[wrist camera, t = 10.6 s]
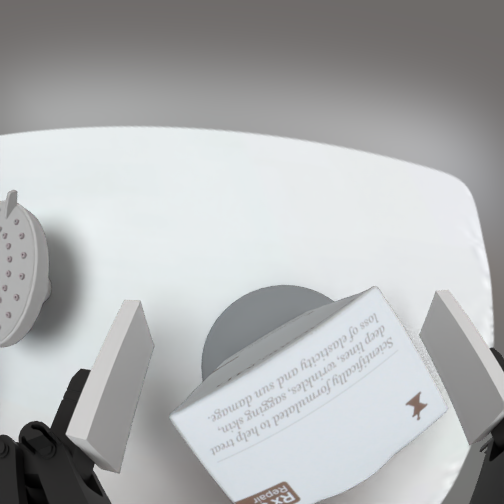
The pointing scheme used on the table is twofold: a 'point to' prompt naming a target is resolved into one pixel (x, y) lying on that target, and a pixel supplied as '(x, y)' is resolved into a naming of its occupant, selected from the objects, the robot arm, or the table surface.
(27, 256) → the showerhead
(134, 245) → the table surface
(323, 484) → the skincare box
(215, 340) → the coaster
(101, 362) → the robot arm
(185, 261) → the table surface
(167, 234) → the table surface
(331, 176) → the table surface
